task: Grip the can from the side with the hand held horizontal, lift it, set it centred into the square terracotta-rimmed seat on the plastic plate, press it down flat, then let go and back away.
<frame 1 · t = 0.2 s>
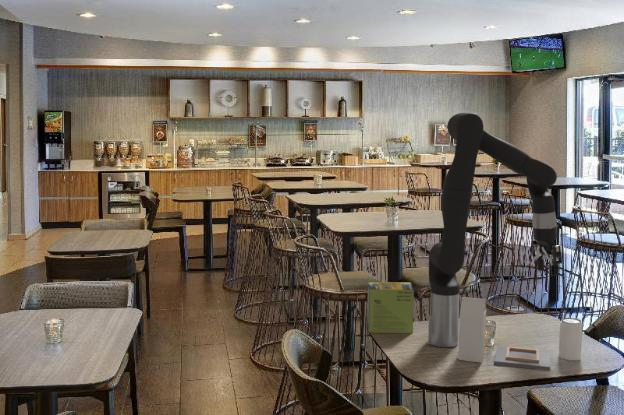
hand: (547, 273, 231), 22 cm above the table, tool pointing down, fingers open, 8 cm apart
protein box: (389, 329, 244), on the table
milk carton: (471, 358, 215), on the table
can: (569, 358, 215), on the table
seat plate: (522, 358, 214), on the table
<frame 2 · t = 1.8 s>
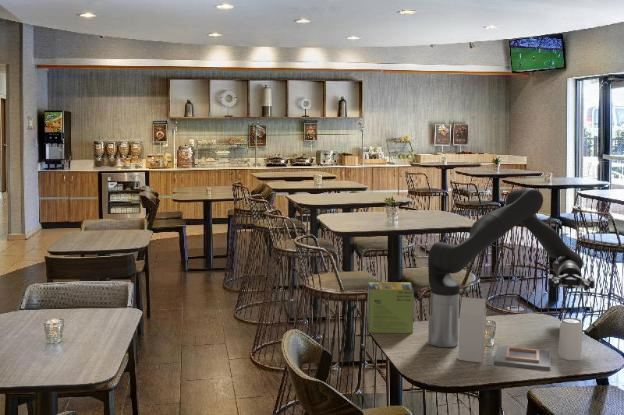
hand: (571, 286, 224), 19 cm above the table, tool horizontal, fingers open, 8 cm apart
nothing on the table moved.
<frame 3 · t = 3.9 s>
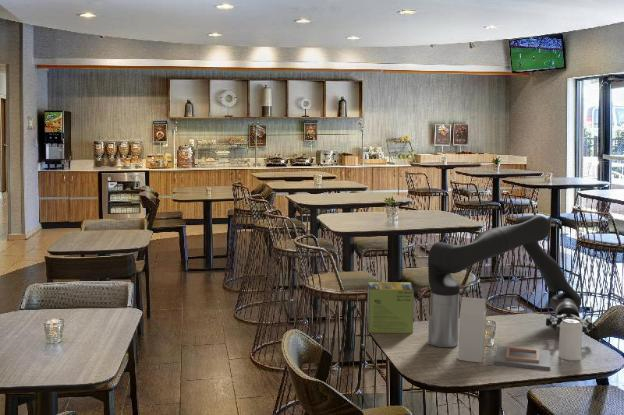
hand: (569, 328, 222), 7 cm above the table, tool horizontal, fingers open, 8 cm apart
nothing on the table moved.
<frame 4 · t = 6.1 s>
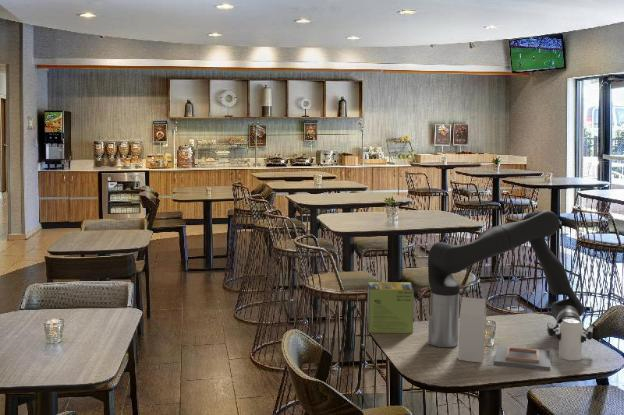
hand: (571, 338, 212), 7 cm above the table, tool horizontal, fingers closed on can, 6 cm apart
can: (569, 358, 215), on the table, touching gripper
everything else where it was.
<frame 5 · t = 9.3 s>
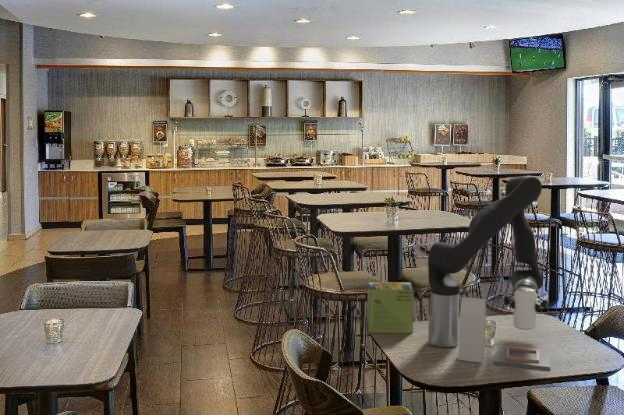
hand: (525, 306, 209), 17 cm above the table, tool horizontal, fingers closed on can, 6 cm apart
can: (524, 327, 212), point 10 cm above the table, touching gripper
everything else where it was.
when the fingers open (8 cm above the table, at t = 12.2 s): can stays where it is, resting on seat plate.
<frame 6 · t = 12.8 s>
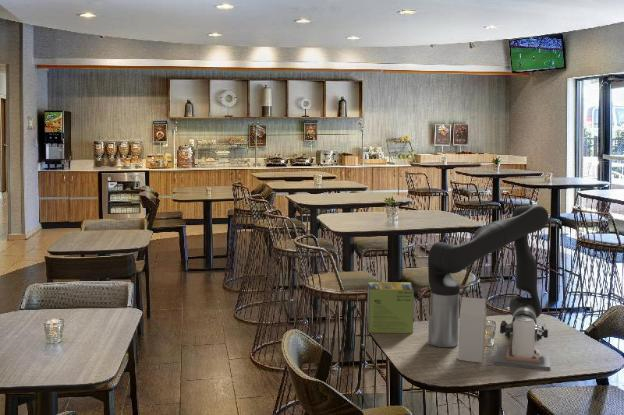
hand: (523, 336, 211), 8 cm above the table, tool horizontal, fingers open, 8 cm apart
can: (522, 356, 213), point 1 cm above the table, touching seat plate
everything else where it was.
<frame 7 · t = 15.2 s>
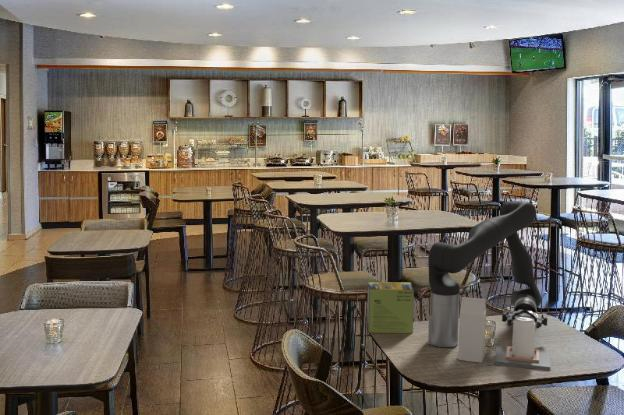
hand: (524, 324, 223), 8 cm above the table, tool horizontal, fingers open, 8 cm apart
nothing on the table moved.
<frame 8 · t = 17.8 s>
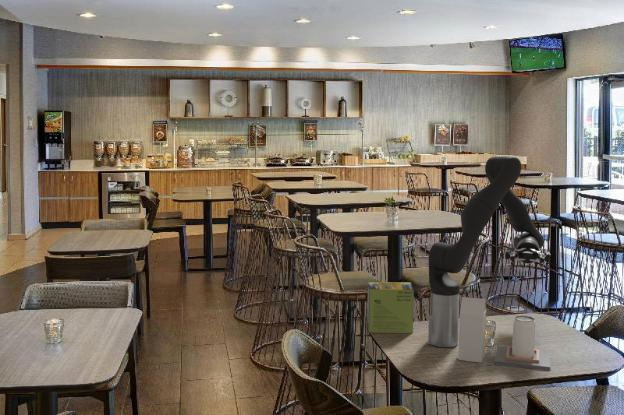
hand: (527, 259, 224), 28 cm above the table, tool horizontal, fingers open, 8 cm apart
nothing on the table moved.
at the end: can 0.3 cm off-centre on the seat plate, point 0.8 cm above the seat plate's base; can tilted 0°; the gripper is holding nothing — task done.
